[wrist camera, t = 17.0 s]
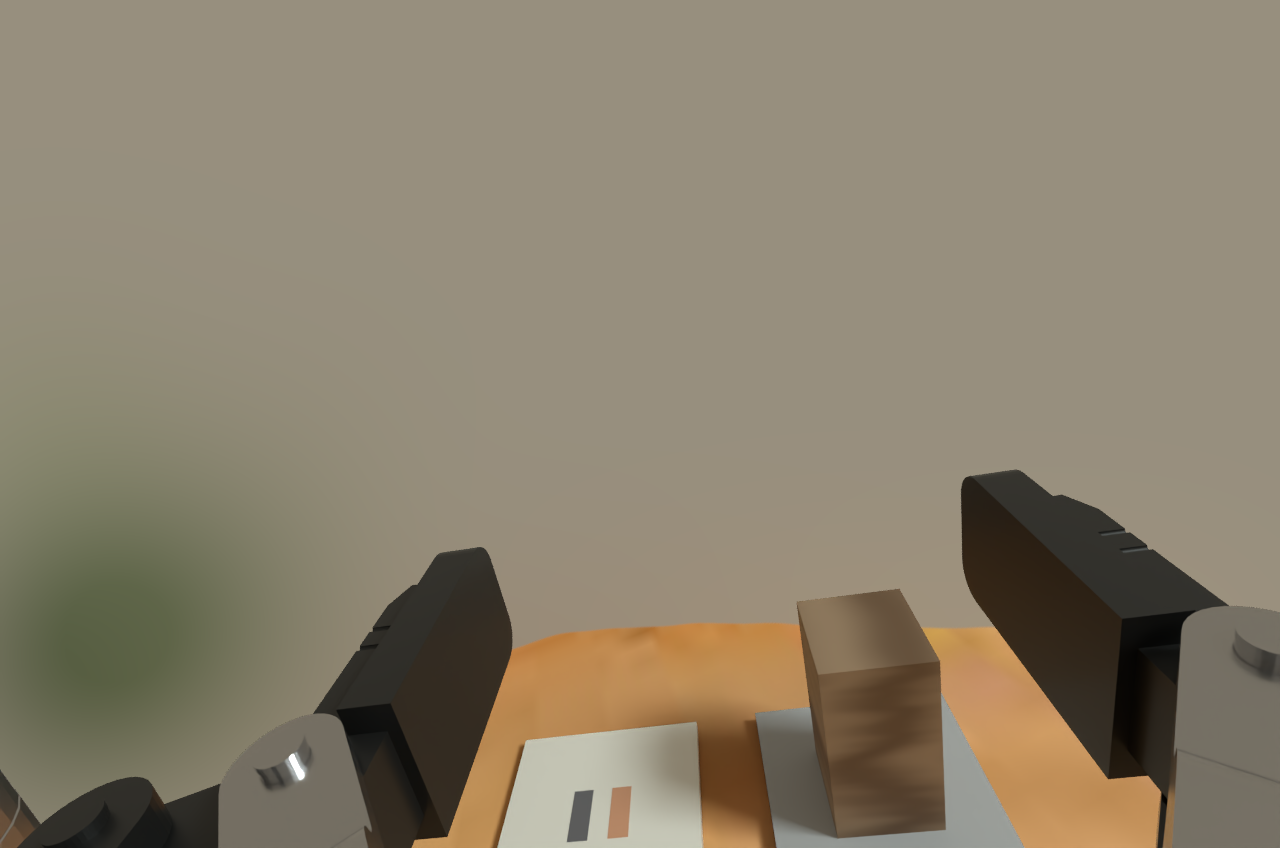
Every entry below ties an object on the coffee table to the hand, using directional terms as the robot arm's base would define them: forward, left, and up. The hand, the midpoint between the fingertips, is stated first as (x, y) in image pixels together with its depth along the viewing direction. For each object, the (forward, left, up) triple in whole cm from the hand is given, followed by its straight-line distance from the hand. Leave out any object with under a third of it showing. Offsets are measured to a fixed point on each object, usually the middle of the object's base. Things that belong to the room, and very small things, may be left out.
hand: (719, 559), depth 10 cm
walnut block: (+6, +17, -27) cm, 33 cm away
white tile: (-10, +17, -28) cm, 34 cm away
